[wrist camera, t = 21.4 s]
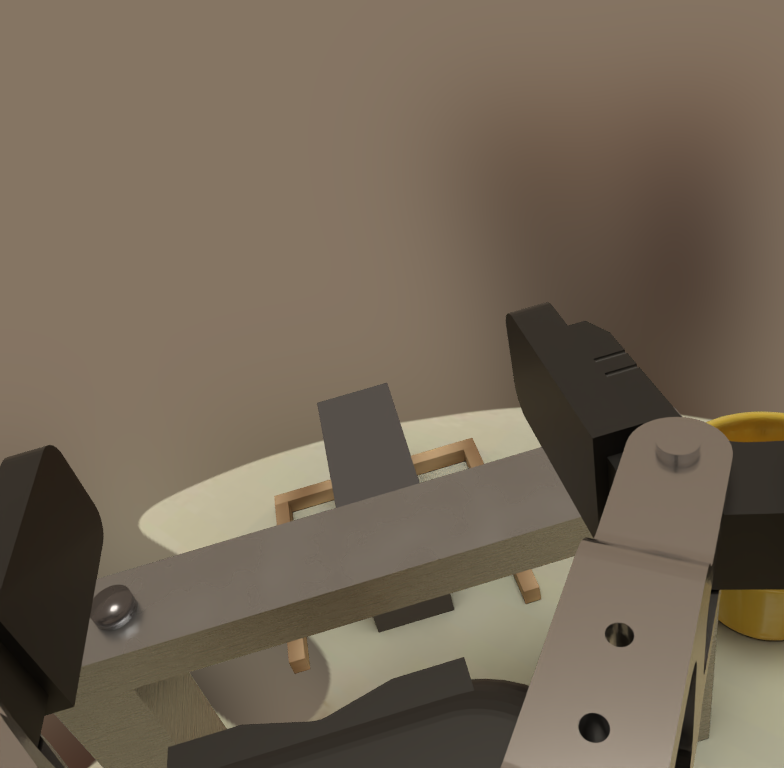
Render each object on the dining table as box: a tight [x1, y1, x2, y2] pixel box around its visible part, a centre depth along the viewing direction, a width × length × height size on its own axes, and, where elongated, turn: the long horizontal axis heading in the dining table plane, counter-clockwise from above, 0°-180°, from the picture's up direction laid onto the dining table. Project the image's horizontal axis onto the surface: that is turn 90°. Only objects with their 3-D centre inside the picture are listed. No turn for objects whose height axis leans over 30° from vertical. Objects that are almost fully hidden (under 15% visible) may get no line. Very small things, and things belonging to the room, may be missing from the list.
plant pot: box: [706, 412, 784, 640], centre depth 41 cm, size 10×10×10 cm
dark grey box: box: [317, 383, 454, 632], centre depth 50 cm, size 5×13×10 cm, turn 11°
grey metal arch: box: [54, 409, 719, 768], centre depth 33 cm, size 26×4×20 cm, turn 101°
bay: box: [274, 438, 541, 674], centre depth 52 cm, size 16×15×1 cm
